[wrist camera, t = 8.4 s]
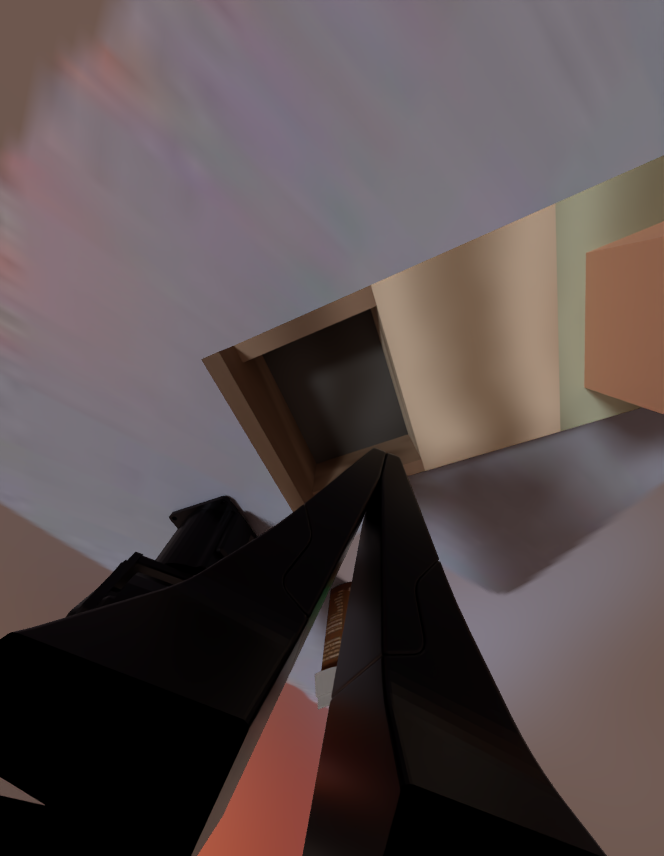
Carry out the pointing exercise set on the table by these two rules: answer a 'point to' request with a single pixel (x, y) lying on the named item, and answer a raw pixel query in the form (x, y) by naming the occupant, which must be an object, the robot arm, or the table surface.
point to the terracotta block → (626, 319)
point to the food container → (332, 643)
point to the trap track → (439, 350)
